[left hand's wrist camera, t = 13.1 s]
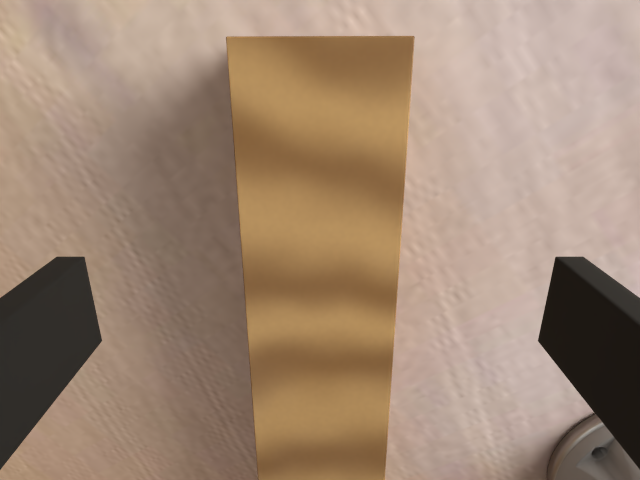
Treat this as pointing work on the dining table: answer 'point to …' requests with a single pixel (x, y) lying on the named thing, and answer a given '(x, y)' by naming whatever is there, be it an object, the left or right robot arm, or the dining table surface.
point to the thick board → (320, 243)
